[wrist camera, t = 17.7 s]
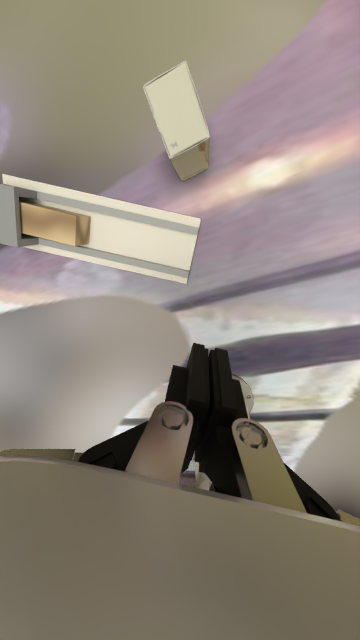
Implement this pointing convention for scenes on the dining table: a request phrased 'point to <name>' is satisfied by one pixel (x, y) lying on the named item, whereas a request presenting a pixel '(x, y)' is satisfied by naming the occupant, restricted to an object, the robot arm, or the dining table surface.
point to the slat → (54, 223)
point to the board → (105, 230)
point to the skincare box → (180, 120)
